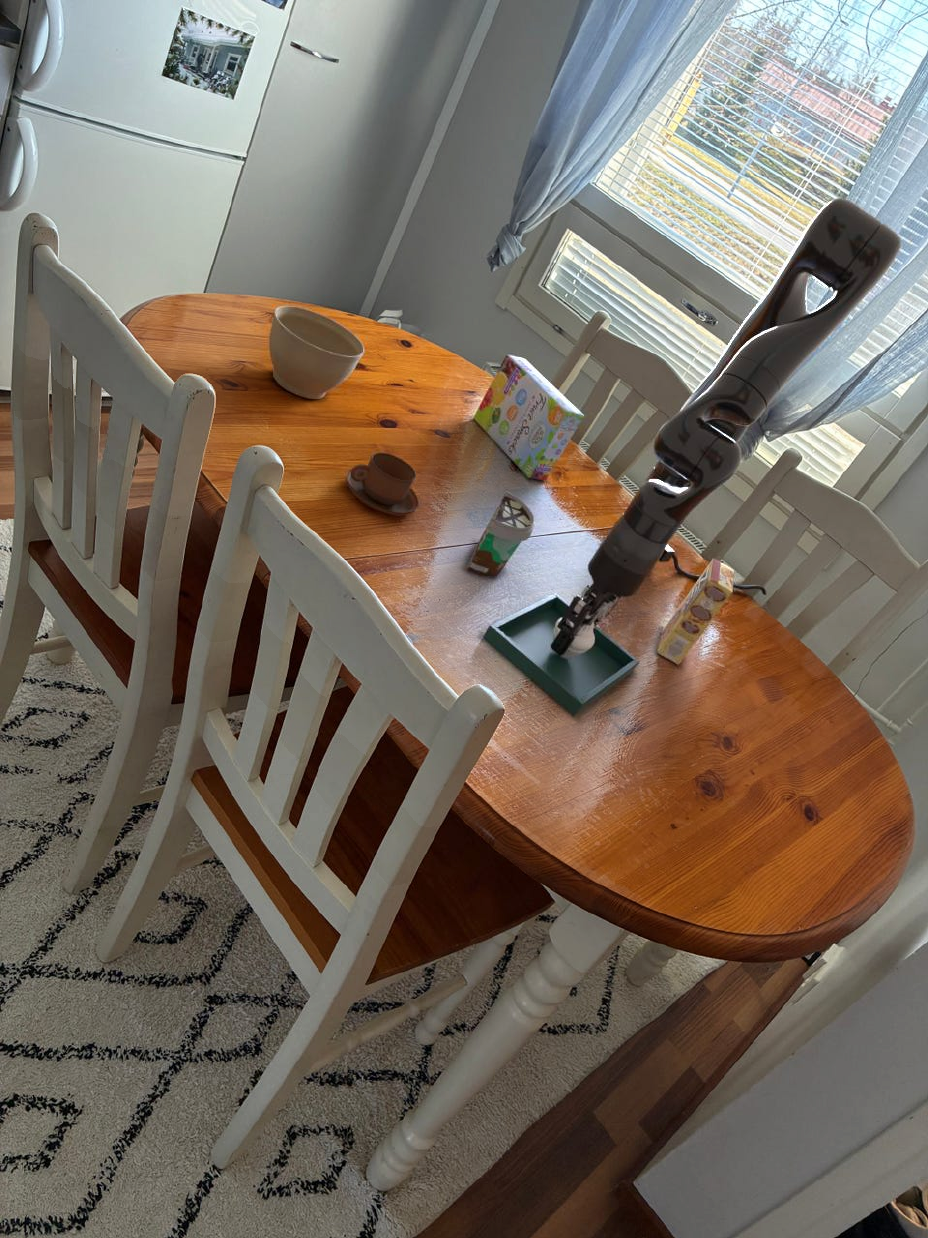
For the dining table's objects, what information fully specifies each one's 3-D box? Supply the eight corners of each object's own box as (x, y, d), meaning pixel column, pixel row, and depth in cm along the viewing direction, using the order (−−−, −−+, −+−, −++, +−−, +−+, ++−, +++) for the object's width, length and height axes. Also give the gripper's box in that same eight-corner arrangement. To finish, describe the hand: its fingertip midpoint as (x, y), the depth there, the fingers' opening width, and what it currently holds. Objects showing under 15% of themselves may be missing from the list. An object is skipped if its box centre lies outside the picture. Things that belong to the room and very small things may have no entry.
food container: (501, 593, 141) (532, 541, 136) (464, 574, 141) (494, 521, 135) (512, 557, 152) (541, 508, 146) (478, 540, 151) (507, 489, 146)
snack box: (547, 481, 183) (586, 415, 175) (527, 479, 179) (566, 412, 171) (491, 420, 194) (525, 356, 186) (471, 417, 190) (504, 351, 183)
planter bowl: (335, 422, 161) (359, 366, 155) (245, 382, 157) (266, 323, 151) (347, 388, 174) (369, 335, 168) (264, 350, 170) (284, 295, 165)
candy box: (678, 666, 148) (734, 593, 141) (655, 653, 149) (710, 579, 141) (682, 641, 156) (736, 570, 148) (660, 628, 156) (713, 556, 148)
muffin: (554, 664, 131) (579, 628, 127) (537, 634, 135) (560, 598, 131) (588, 667, 134) (613, 632, 131) (570, 638, 138) (594, 602, 135)
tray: (548, 603, 145) (555, 592, 144) (631, 672, 140) (640, 661, 139) (482, 637, 129) (489, 625, 128) (573, 716, 125) (582, 704, 123)
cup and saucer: (370, 524, 140) (386, 490, 136) (328, 476, 145) (342, 442, 142) (427, 521, 148) (444, 489, 145) (385, 476, 154) (400, 444, 151)
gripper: (628, 583, 118) (564, 677, 127) (670, 559, 130) (608, 647, 139) (583, 547, 121) (523, 642, 129) (628, 527, 132) (570, 615, 141)
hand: (567, 644), depth 134 cm, fingers closed on muffin, 6 cm apart
